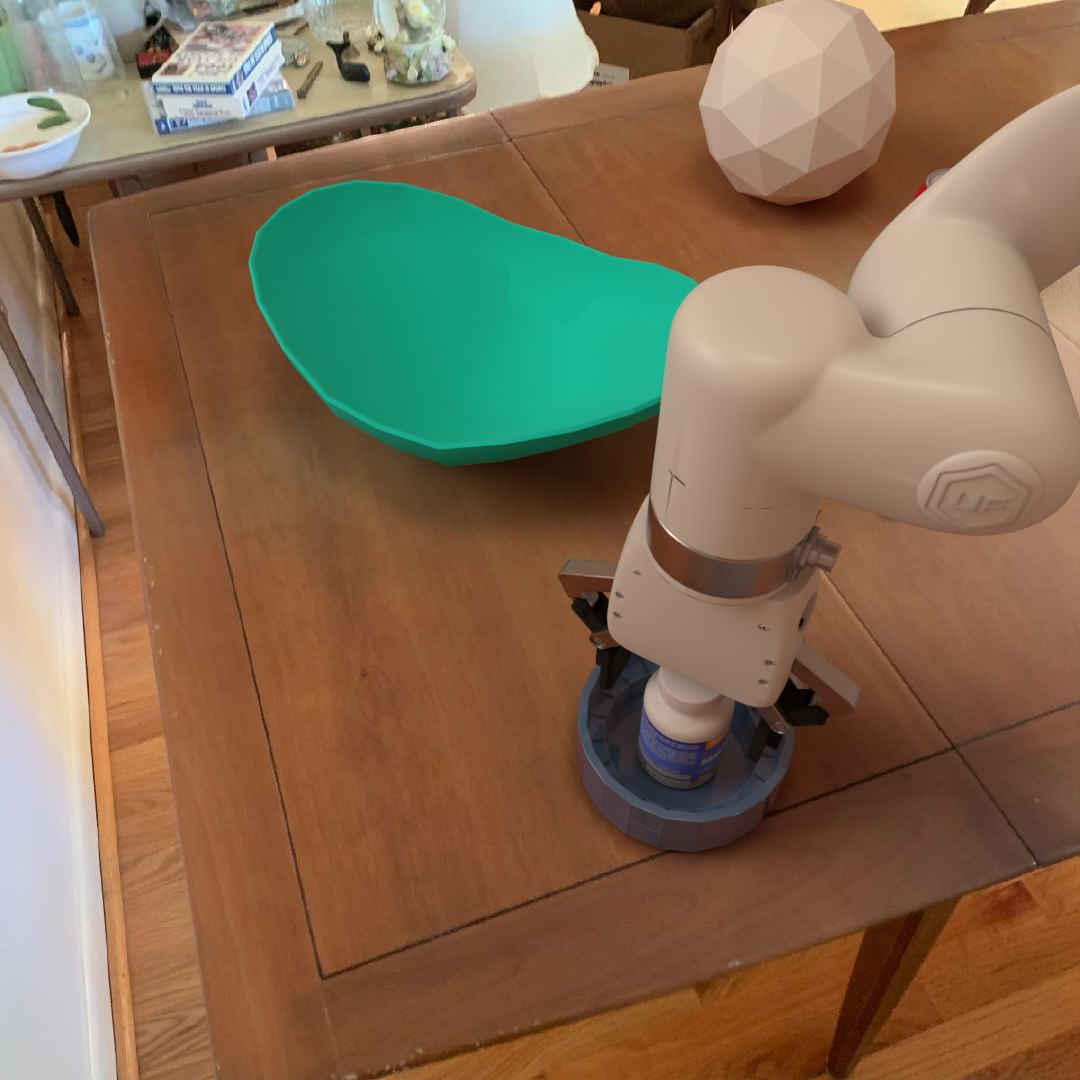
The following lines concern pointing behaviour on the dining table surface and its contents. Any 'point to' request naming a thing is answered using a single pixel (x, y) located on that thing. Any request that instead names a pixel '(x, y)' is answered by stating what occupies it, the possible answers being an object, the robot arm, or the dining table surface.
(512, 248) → the table top decor
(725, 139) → the ball
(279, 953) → the dining table surface
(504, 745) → the dining table surface
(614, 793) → the bowl
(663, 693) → the pill bottle
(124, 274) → the dining table surface
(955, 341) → the robot arm
